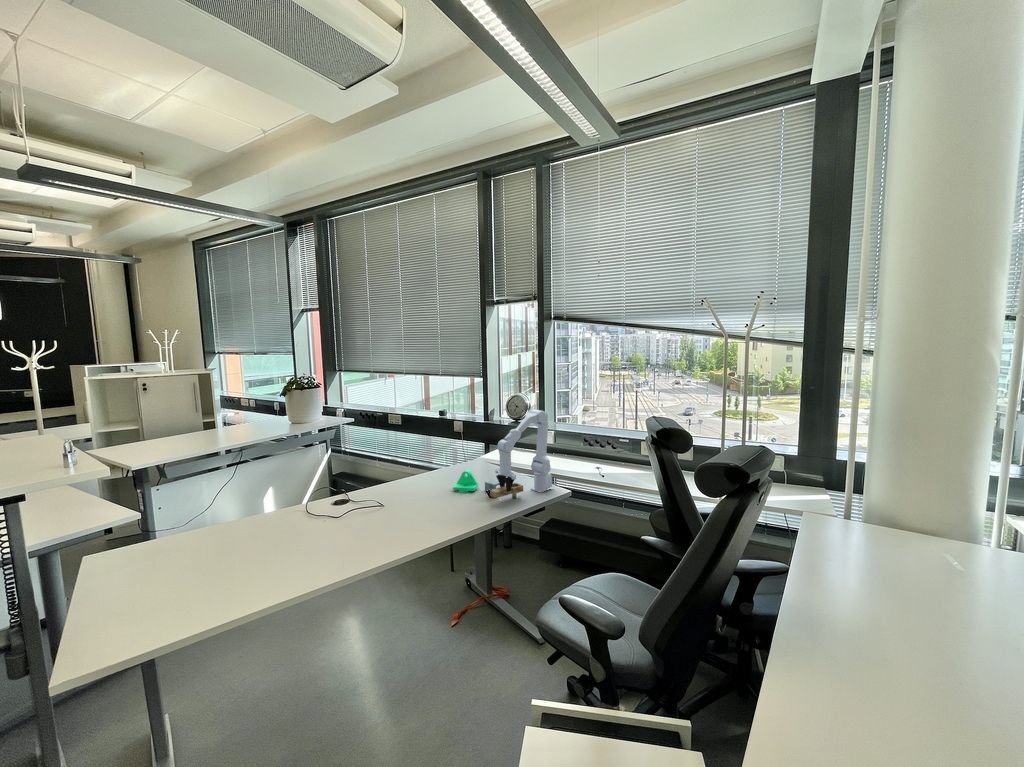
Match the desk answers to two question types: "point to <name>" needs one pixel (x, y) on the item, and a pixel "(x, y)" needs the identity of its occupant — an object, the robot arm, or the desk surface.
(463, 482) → the green triangular piece
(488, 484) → the keeper
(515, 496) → the pintle
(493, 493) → the lever
